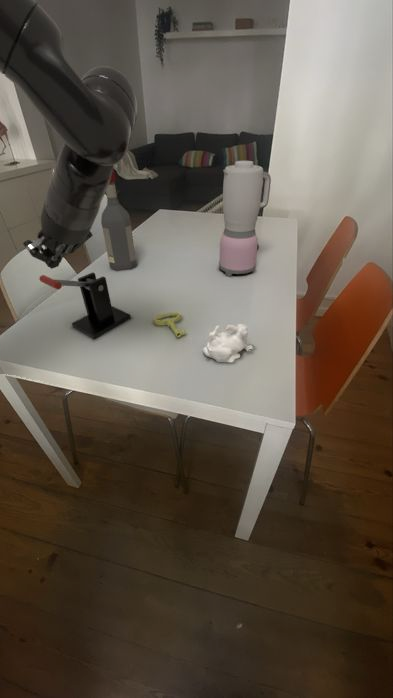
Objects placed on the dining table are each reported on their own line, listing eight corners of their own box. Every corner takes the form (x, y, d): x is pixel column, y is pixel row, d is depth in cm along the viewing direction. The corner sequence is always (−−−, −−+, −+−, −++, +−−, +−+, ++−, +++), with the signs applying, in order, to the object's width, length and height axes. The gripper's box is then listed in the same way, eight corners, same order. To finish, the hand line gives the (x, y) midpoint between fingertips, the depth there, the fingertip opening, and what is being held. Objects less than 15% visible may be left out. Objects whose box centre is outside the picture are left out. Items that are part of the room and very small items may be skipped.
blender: (228, 280, 102) (234, 167, 83) (212, 266, 111) (214, 160, 91) (270, 271, 107) (285, 162, 87) (251, 258, 116) (261, 157, 96)
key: (178, 342, 76) (177, 334, 75) (150, 321, 84) (149, 314, 83) (201, 331, 80) (201, 324, 79) (172, 312, 88) (172, 305, 86)
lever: (54, 291, 66) (55, 280, 66) (38, 283, 69) (39, 272, 69) (104, 293, 77) (106, 283, 76) (89, 286, 80) (91, 277, 79)
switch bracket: (94, 339, 78) (81, 292, 70) (72, 327, 82) (58, 282, 74) (130, 318, 85) (123, 273, 77) (109, 308, 90) (99, 265, 82)
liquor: (135, 259, 117) (122, 166, 99) (137, 269, 110) (123, 171, 92) (110, 261, 116) (92, 168, 97) (110, 272, 109) (91, 173, 90)
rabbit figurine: (252, 346, 75) (256, 310, 69) (259, 367, 69) (265, 330, 63) (201, 348, 74) (201, 313, 68) (204, 370, 68) (204, 333, 62)
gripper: (91, 180, 54) (68, 238, 67) (15, 196, 46) (7, 258, 59) (117, 218, 54) (89, 268, 68) (47, 240, 46) (31, 292, 60)
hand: (51, 263), depth 64 cm, fingers closed
